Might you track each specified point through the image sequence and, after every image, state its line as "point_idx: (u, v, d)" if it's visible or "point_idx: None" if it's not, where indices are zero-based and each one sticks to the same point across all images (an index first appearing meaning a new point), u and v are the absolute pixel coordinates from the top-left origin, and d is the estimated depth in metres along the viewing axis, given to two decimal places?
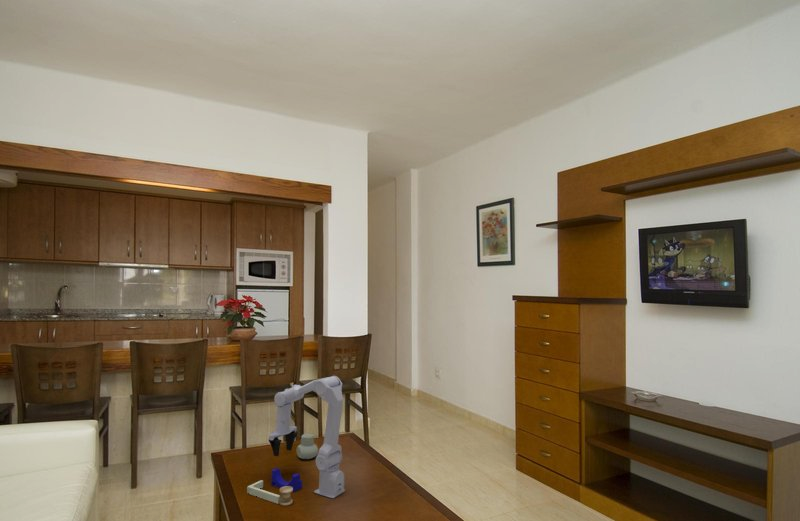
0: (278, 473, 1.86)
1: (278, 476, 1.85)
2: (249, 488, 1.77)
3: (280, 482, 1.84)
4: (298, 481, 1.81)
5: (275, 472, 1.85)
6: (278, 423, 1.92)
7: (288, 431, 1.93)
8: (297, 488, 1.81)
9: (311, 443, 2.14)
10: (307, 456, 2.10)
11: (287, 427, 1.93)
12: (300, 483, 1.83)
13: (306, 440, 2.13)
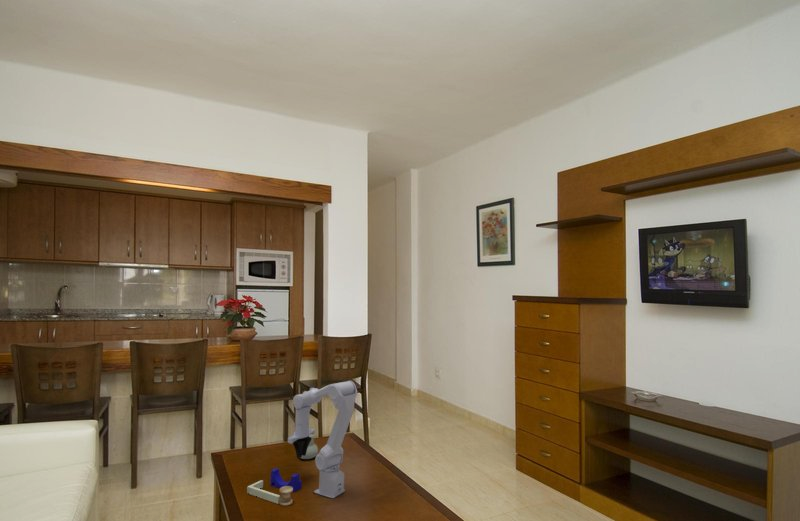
0: (277, 473, 1.86)
1: (277, 476, 1.85)
2: (249, 488, 1.77)
3: (279, 482, 1.83)
4: (297, 482, 1.81)
5: (274, 472, 1.85)
6: (297, 426, 1.90)
7: (307, 434, 1.91)
8: (296, 488, 1.81)
9: (311, 443, 2.14)
10: (307, 456, 2.10)
11: (306, 430, 1.90)
12: (299, 483, 1.82)
13: None
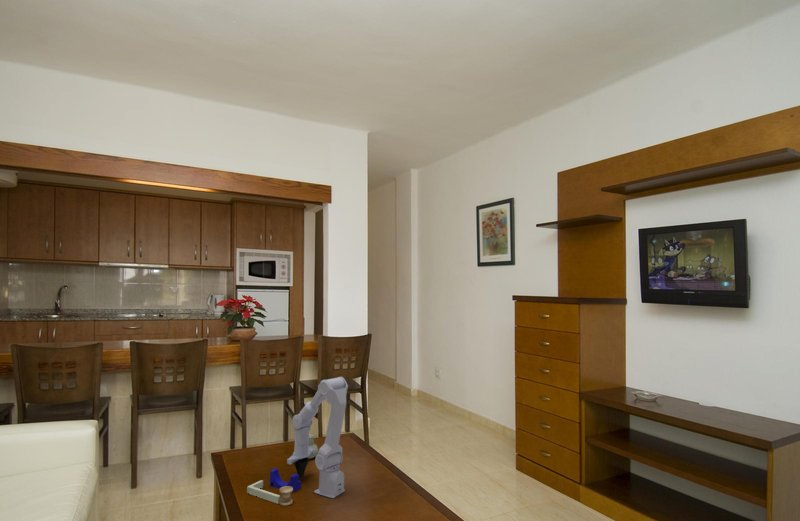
0: (277, 474, 1.85)
1: (276, 476, 1.85)
2: (249, 488, 1.77)
3: (279, 483, 1.83)
4: (296, 482, 1.81)
5: (274, 473, 1.84)
6: (296, 446, 1.90)
7: (306, 454, 1.90)
8: (296, 489, 1.80)
9: (311, 443, 2.14)
10: None
11: (305, 450, 1.90)
12: (299, 483, 1.82)
13: None
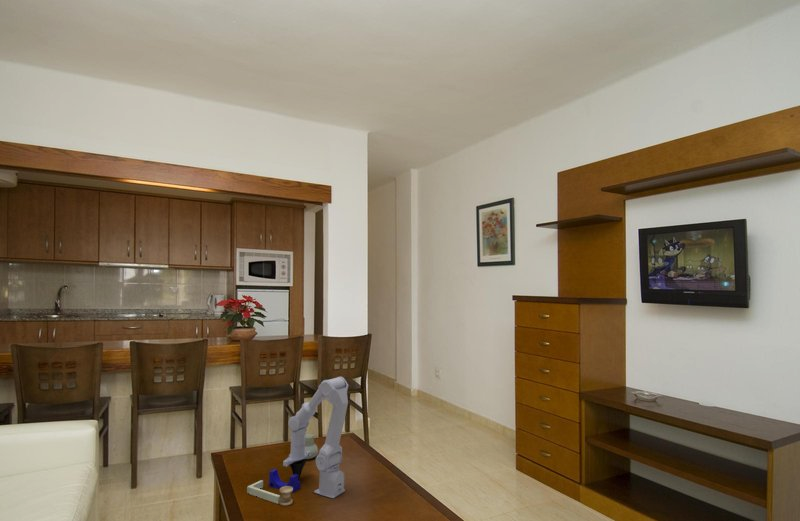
0: (276, 474, 1.85)
1: (275, 477, 1.84)
2: (249, 488, 1.77)
3: (278, 483, 1.83)
4: (296, 482, 1.80)
5: (273, 473, 1.84)
6: (292, 448, 1.88)
7: (302, 456, 1.88)
8: (295, 489, 1.80)
9: (311, 443, 2.14)
10: (307, 456, 2.10)
11: (301, 452, 1.88)
12: (298, 484, 1.82)
13: (306, 440, 2.13)
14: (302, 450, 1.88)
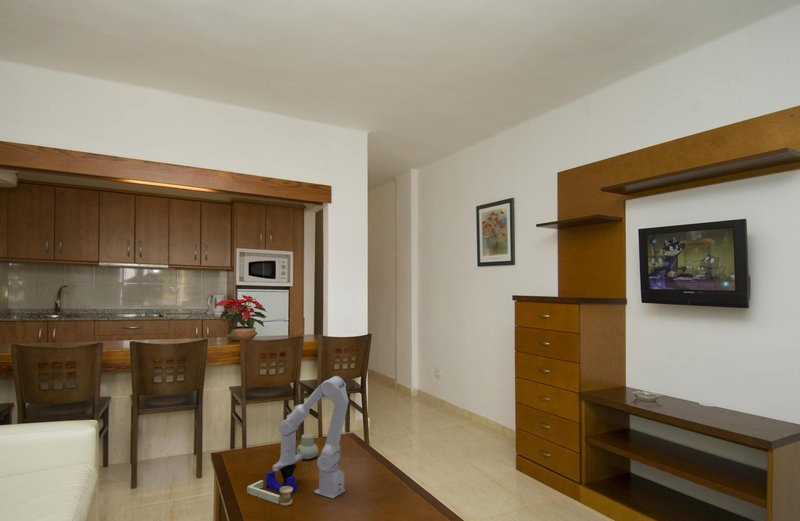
0: (273, 476, 1.83)
1: (272, 478, 1.83)
2: (249, 488, 1.77)
3: (275, 485, 1.81)
4: (293, 484, 1.79)
5: (270, 475, 1.82)
6: (282, 452, 1.83)
7: (293, 461, 1.83)
8: (292, 491, 1.78)
9: (311, 443, 2.14)
10: (307, 456, 2.10)
11: (292, 457, 1.83)
12: (295, 486, 1.80)
13: (306, 440, 2.13)
14: (292, 454, 1.83)
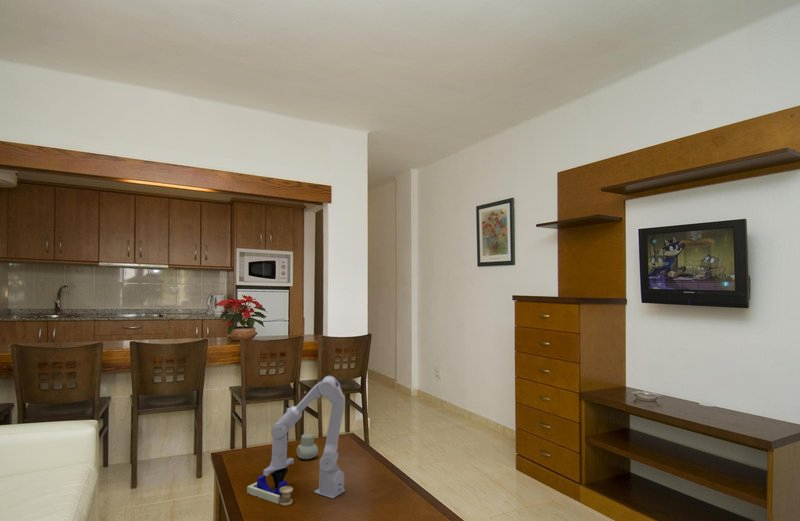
0: (264, 480, 1.79)
1: (263, 483, 1.78)
2: (249, 488, 1.77)
3: (266, 490, 1.77)
4: None
5: (261, 479, 1.78)
6: (273, 456, 1.78)
7: (284, 465, 1.79)
8: None
9: (311, 443, 2.14)
10: (307, 456, 2.10)
11: (283, 461, 1.79)
12: None
13: (306, 440, 2.13)
14: (284, 458, 1.79)
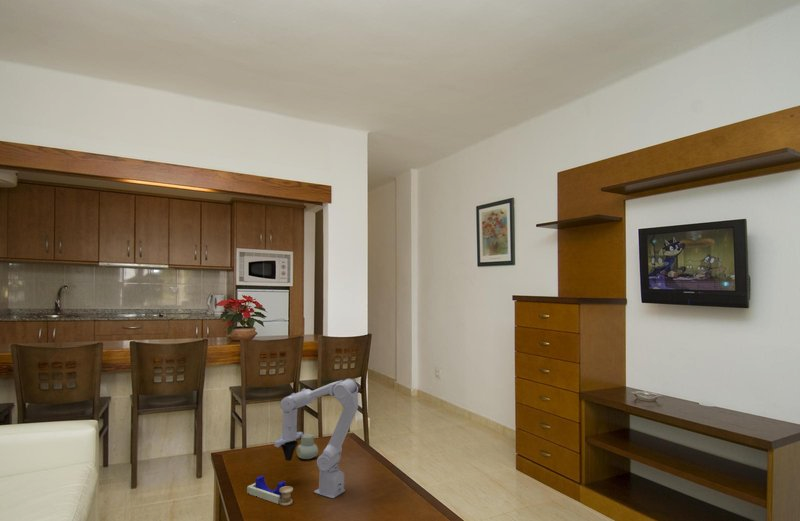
0: (262, 481, 1.78)
1: (262, 484, 1.78)
2: (249, 488, 1.77)
3: None
4: None
5: (259, 480, 1.77)
6: (284, 429, 1.84)
7: (294, 437, 1.85)
8: None
9: (311, 443, 2.14)
10: (307, 456, 2.10)
11: (293, 433, 1.85)
12: None
13: (306, 440, 2.13)
14: (294, 431, 1.85)
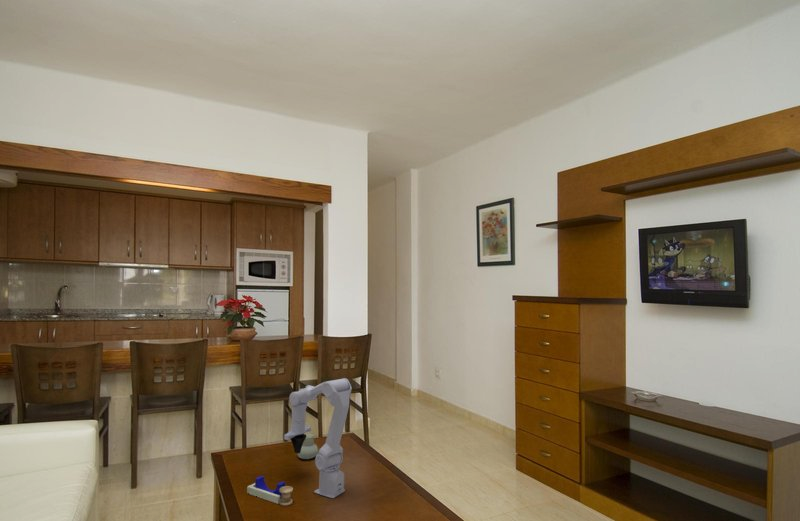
0: (262, 481, 1.78)
1: (262, 484, 1.77)
2: (249, 488, 1.77)
3: None
4: None
5: (259, 480, 1.77)
6: (293, 423, 1.92)
7: (303, 431, 1.93)
8: None
9: (311, 443, 2.14)
10: (307, 456, 2.10)
11: (302, 427, 1.93)
12: None
13: (306, 440, 2.13)
14: (303, 425, 1.93)
